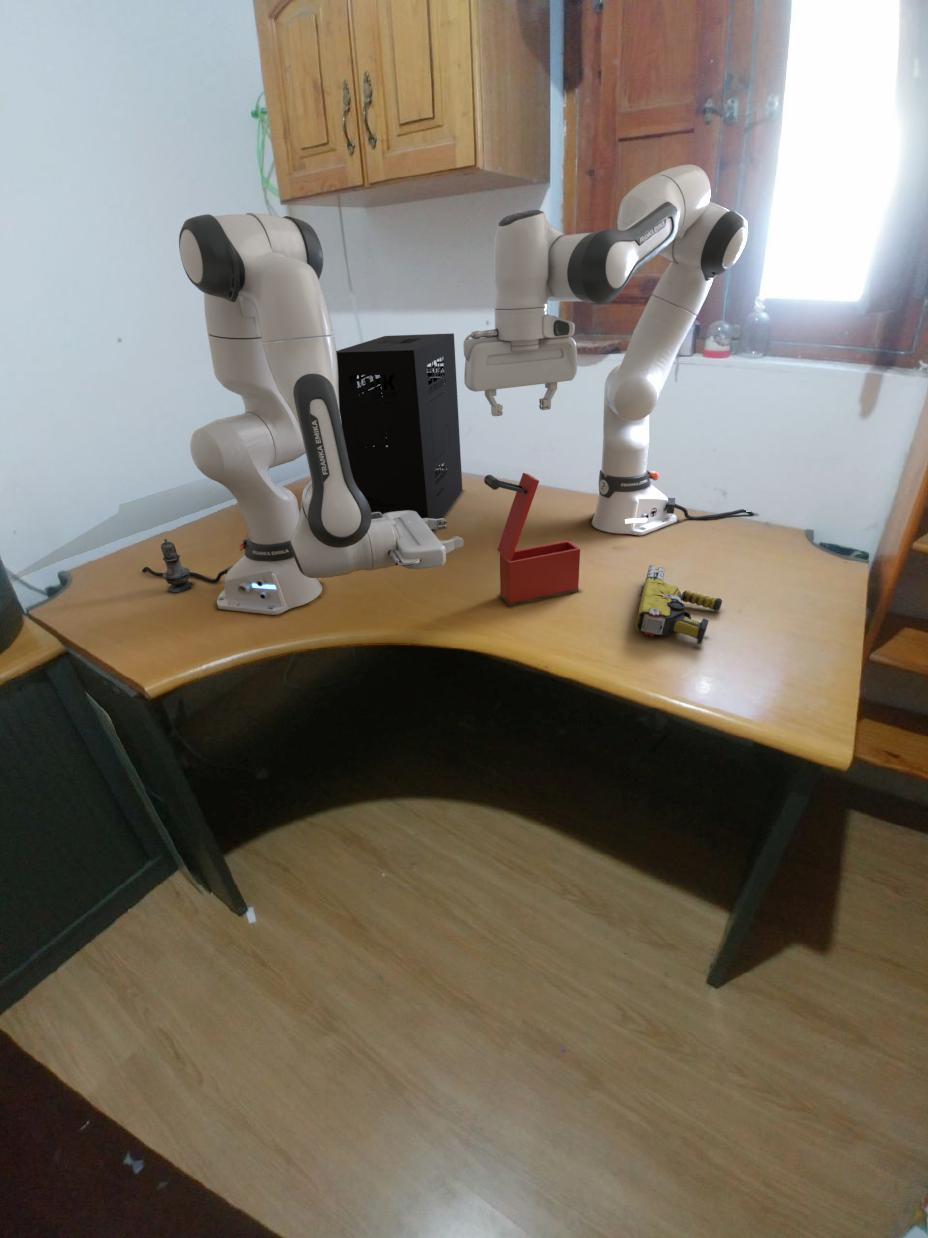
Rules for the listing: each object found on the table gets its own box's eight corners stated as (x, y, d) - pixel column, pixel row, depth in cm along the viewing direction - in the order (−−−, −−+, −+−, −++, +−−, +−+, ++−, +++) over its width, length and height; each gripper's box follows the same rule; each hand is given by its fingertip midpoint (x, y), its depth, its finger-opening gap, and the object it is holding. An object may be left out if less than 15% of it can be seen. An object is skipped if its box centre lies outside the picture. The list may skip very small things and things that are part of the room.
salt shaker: (184, 593, 136) (168, 544, 130) (161, 592, 138) (145, 543, 132) (199, 581, 141) (184, 533, 135) (177, 580, 143) (161, 533, 137)
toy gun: (723, 575, 124) (648, 562, 128) (727, 629, 104) (638, 612, 108) (717, 595, 126) (644, 582, 130) (720, 652, 106) (633, 634, 110)
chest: (567, 581, 132) (568, 540, 127) (578, 591, 128) (580, 548, 123) (500, 595, 128) (499, 553, 123) (509, 606, 124) (509, 562, 119)
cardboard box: (429, 535, 159) (413, 350, 136) (357, 532, 163) (331, 352, 141) (462, 490, 190) (453, 333, 168) (401, 488, 195) (385, 335, 172)
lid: (528, 473, 117) (487, 463, 113) (539, 480, 113) (497, 470, 109) (501, 550, 123) (462, 543, 119) (511, 560, 119) (470, 552, 115)
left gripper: (395, 549, 101) (472, 536, 105) (369, 509, 117) (436, 499, 121) (398, 583, 104) (473, 569, 108) (372, 539, 121) (438, 528, 124)
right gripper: (469, 333, 96) (473, 422, 103) (583, 323, 101) (579, 408, 108) (456, 330, 101) (460, 416, 108) (565, 321, 106) (563, 403, 113)
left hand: (453, 531), depth 115 cm, fingers open, 8 cm apart
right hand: (521, 412), depth 108 cm, fingers open, 8 cm apart
